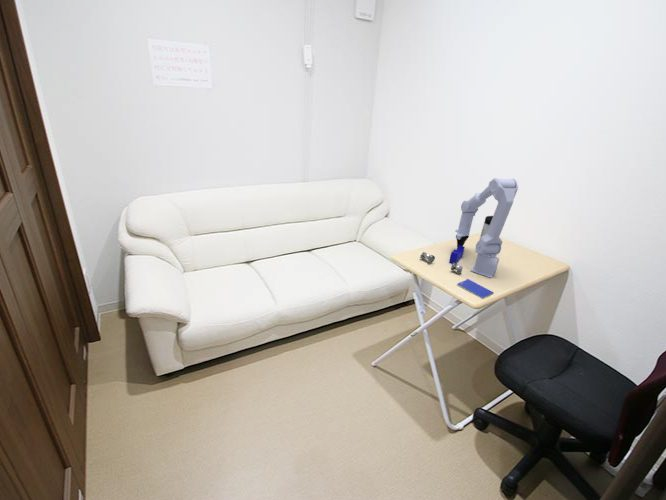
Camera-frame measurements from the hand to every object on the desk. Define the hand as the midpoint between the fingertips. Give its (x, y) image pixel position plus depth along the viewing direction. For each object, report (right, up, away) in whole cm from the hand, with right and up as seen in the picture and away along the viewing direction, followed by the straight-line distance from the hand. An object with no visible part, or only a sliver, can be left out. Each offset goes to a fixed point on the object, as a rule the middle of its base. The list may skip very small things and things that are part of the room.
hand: (459, 248), depth 183 cm
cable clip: (-5, -6, -7) cm, 11 cm away
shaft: (-21, -6, -12) cm, 25 cm away
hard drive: (-6, -19, -34) cm, 39 cm away
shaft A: (-9, -11, -21) cm, 25 cm away
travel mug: (+13, -2, +3) cm, 14 cm away
